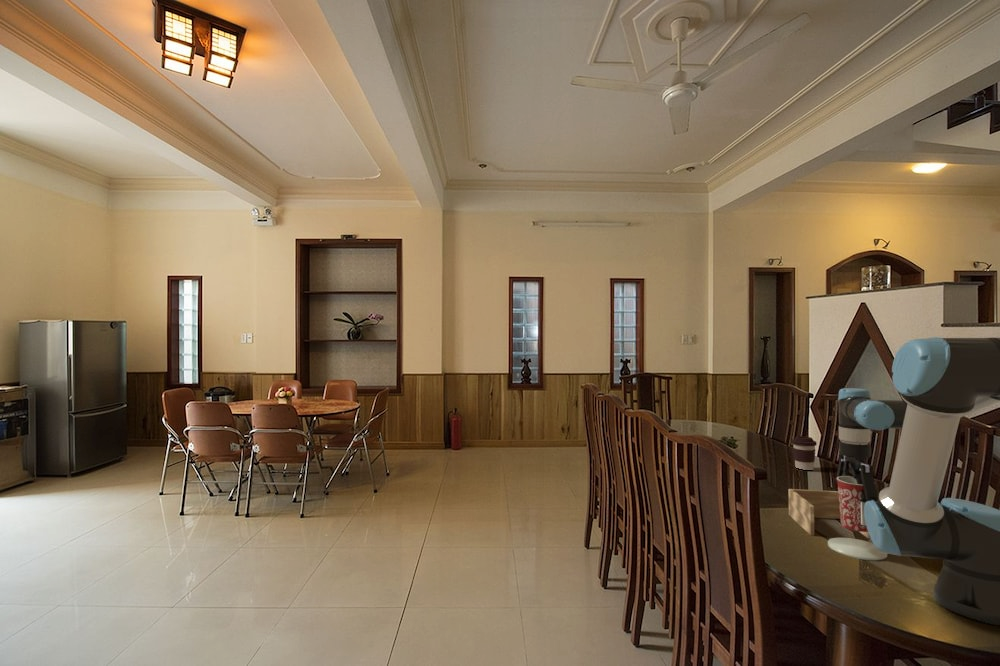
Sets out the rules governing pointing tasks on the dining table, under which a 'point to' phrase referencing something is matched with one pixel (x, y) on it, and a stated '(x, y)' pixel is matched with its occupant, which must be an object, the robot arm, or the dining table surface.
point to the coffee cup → (804, 452)
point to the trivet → (856, 549)
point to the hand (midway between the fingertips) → (855, 517)
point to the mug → (850, 503)
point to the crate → (814, 507)
